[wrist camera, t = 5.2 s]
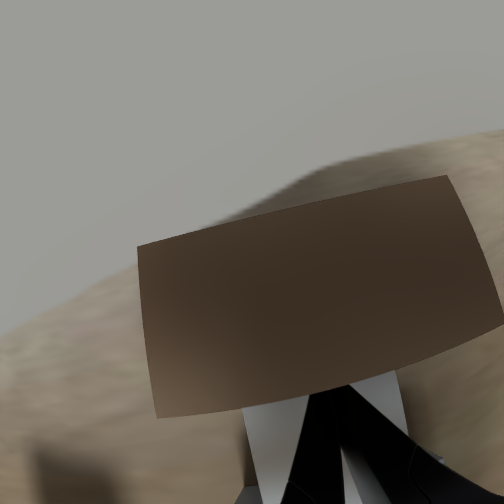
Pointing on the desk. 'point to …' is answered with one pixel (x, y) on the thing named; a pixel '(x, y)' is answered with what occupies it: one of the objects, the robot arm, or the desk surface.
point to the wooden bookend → (311, 310)
